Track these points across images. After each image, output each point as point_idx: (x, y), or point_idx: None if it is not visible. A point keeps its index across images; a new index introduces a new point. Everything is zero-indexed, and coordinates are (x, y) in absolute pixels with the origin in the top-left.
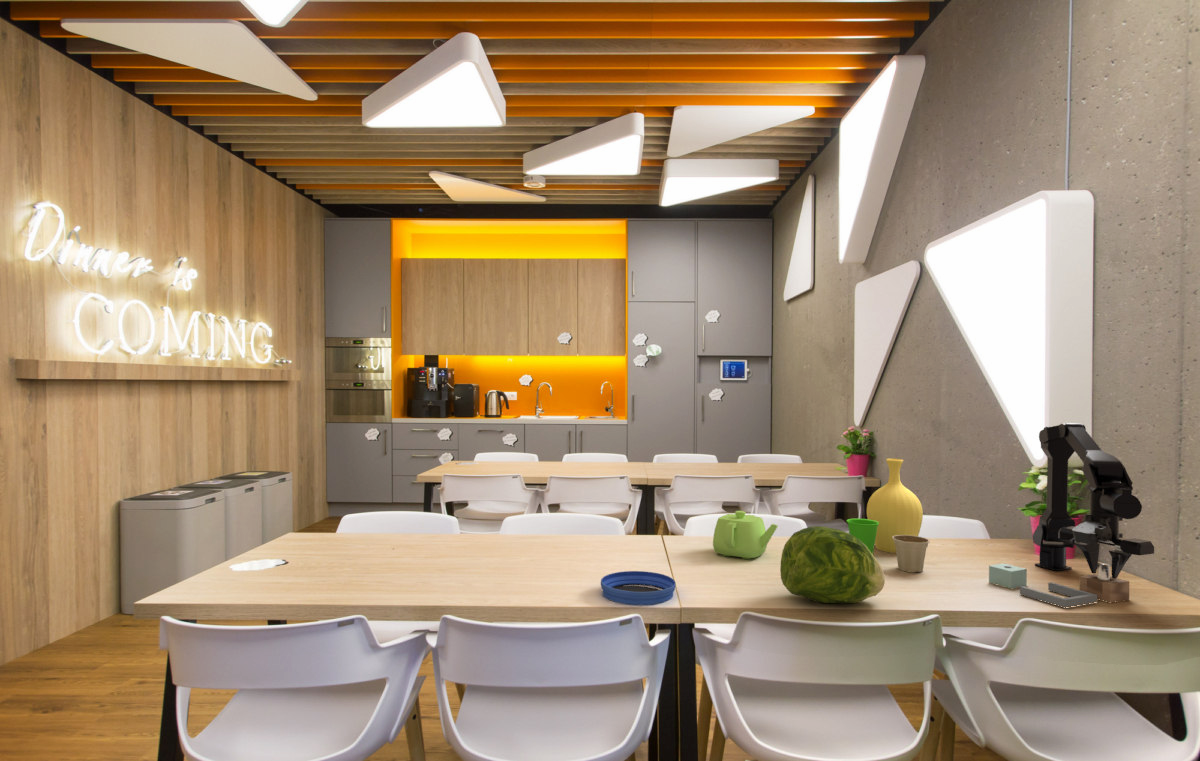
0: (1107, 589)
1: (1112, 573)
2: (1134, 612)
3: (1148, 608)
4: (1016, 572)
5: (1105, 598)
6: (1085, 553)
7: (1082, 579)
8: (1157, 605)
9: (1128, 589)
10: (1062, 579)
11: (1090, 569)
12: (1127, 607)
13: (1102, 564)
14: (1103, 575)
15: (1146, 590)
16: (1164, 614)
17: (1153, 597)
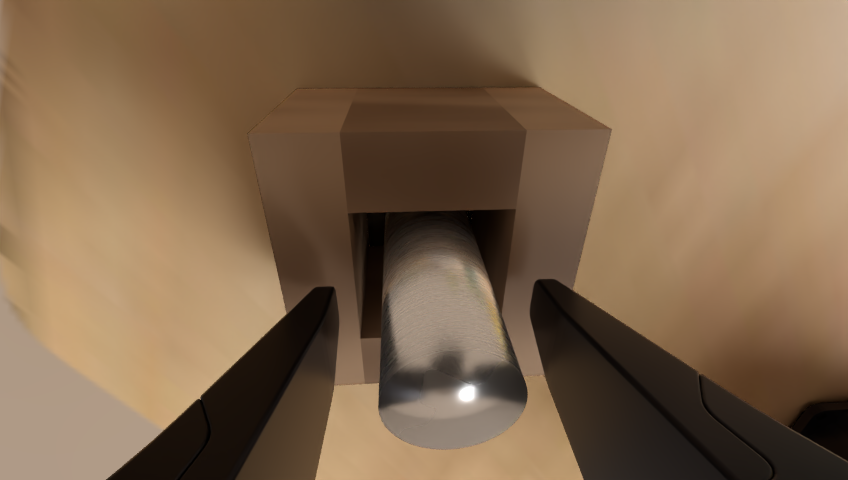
0: (292, 112)
1: (311, 313)
2: (43, 25)
3: (152, 234)
4: None
5: (327, 92)
6: (795, 459)
7: (566, 121)
8: (207, 332)
9: None
10: (748, 316)
11: (577, 295)
12: (184, 116)
13: (452, 382)
14: (411, 267)
15: (421, 473)
16: (9, 204)
17: (332, 422)
